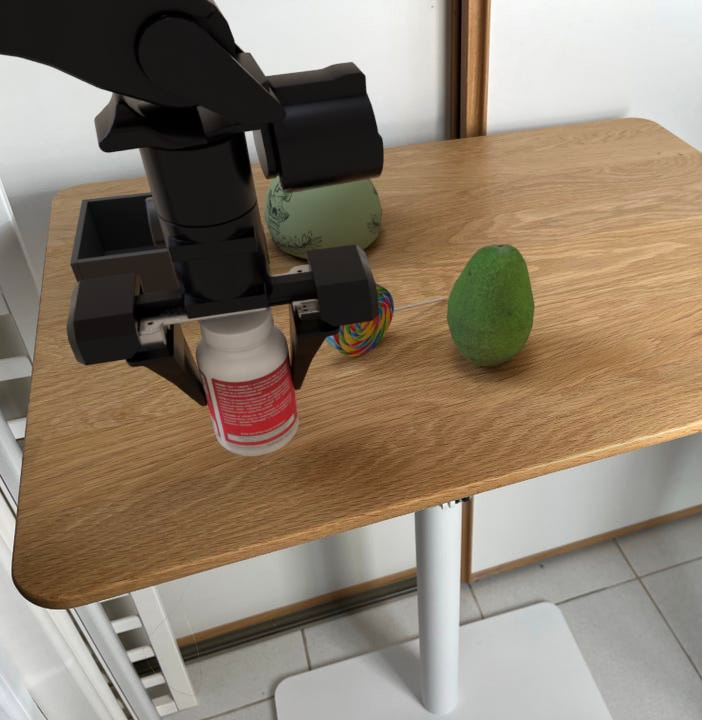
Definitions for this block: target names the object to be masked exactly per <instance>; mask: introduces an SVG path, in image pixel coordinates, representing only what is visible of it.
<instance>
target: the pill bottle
mask: <svg viewBox="0 0 702 720" xmlns="http://www.w3.org/2000/svg"><path fill="white" fill-rule="evenodd" d="M198 323H199V327H200V329H199V330H200V335H201V337H200V338H199V341H198V342H197V346H196V350H195V359H196V365H197V367H198V369H199V372H200V376H201V380H202V384H203V388H204V392H205V396H206V399H207V407H208V412H209V416H210V420H211V423H212V427H213V430H214V435H215V436H216V439H217V441H218V443H219V444H220V445H221V446H222V447H223V448H224V449H226V450H227V451H229V452H230V453H232V454H235V455H239V456H242V457H243V456H244V457H259V456H265V455H268V454H271V453H273V452H275V451H278V450H279V449H281V448H283V447H285V446H286V445H287V444H288V443H289V442H290V441H291V440H292V439H293V438H294V437H295V435H296V433H297V431H298V429H299V424H300V423H299V422H300V419H299V409H298V403H297V396H296V390H295V389H294V383H293V377H292V369H291V363H290V348H289V345H288V341H287V337H286V336H285V334H284V332H283V331H282V330H281V329H280V328H279V327H278V326H277V325H276V324H275V320H274V316H273V311H272V306H271V307H268V309H267V310H265V311H258V312H252V313H245V314H238V315H231V316H225V317H218V318H211V319H204V320H198Z"/></svg>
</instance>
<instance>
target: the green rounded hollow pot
mask: <svg viewBox="0 0 702 720" xmlns="http://www.w3.org/2000/svg"><path fill="white" fill-rule="evenodd" d="M382 217H383V208H382V203H381V200H380V195H379V193H378V191H377V189H376V186H375V185H374V182H373V181H372V180H371V179H366V180H361V181H355V182H350V183H344V184H338V185H333V186H327V187H322V188H316V189H311V190H305V191H299V192H294V193H288V191H287V190H283V189H282V186H281V183H280V179H279V176H277V177H276V178H274V179H271V182H270V184H269V186H268V188H267V192H266V196H265V199H264V221H265V224H266V226H267V229H268V232H269V234H270V236H271V239H272V242H273V244H274V245H275V246H276V247H278V248H279V249H281V250H282V251H283V252H285V253H286V254H287V255H291V256H293V257H297V258H300V259H304V260H307V261H308V259H307V251H308V250H315V249H323V248H331V247H338V246H346V245H354V244H356V245H357V246H359V247H360V248H361V249H362V250H363V251H364V250H365V249H367V248H368V247H369V246H370V245H371V244H372V243H374V241H375V240H376V239H378V237H379V235H380V231H381V230H380V229H381V224H382Z"/></svg>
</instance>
